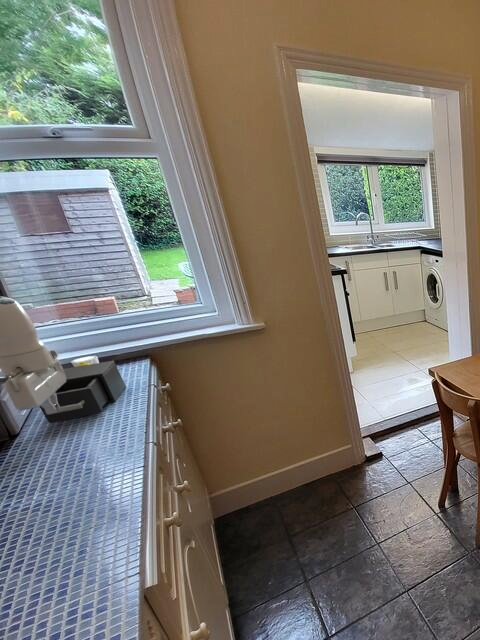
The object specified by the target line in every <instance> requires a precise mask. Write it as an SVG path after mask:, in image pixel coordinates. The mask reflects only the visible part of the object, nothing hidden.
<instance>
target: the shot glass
mask: <svg viewBox="0 0 480 640" xmlns="http://www.w3.org/2000/svg"><path fill="white" fill-rule="evenodd" d="M81 362H84V363H89V364H96V363H100V360H99V358H98V356H97V355H87V356H83V357H82V356H81V357H79V358H75V359H73V360H71V361H70V363H71V364H72V367H77V365H79V364H80V363H81Z"/></svg>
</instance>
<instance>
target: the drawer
mask: <svg viewBox="0 0 480 640" xmlns="http://www.w3.org/2000/svg"><path fill="white" fill-rule="evenodd" d="M86 387H87V388H86ZM80 388H82V389H80ZM75 389H76V390H75ZM69 390H71V391H69ZM55 393H56V395H57V401H58V404H59V406H60V408H59V409H58V410H57V411H56V412H55V413H51V414H47V413H46V411H45V409H44V408H42V407H41V406H39V407H38V408H39V409H40V410H41V411H42V414H43V416H44V417H45V419H46V421H47V422H48V424H53V423H58V422H61V421H66V420H71V419H72V420H73V419H76V418H81V417H86V416H92V415H96V414H100V413H101V414H102V413H104V409H103V407H104V406H105V405H106V404H107V403H106V402H107V401H108V399H109V398H110V396H109V394H108V392H107V390H106V388H105V386H104V384H103V382H102V380H101V378H100V376H99V377H93V378H88V379H82V380H76V381H70V382H65V383H64V384H63V385H62V386H61V387H60V388H59V389H58V390H57V391H55ZM105 403H106V404H105Z"/></svg>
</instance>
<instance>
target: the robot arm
mask: <svg viewBox="0 0 480 640" xmlns="http://www.w3.org/2000/svg"><path fill="white" fill-rule="evenodd" d="M37 332H38V331H37V328H36V326H35V323H34V322H33V320H32V319H31V317H30V316H29V314H28V312H27V311H26V310H25V308H24V307H23V306H22V305H21V304H20V303H19V302H18V301H17V300H16V299H14V298H12V297H8V296H2V295H0V371H1V373H2V375H5V376H7V377H8V379H7V380H5V383H4V386H5V389H6V392H7V395H8V396H9V398H10V400H11V402H12V403H13V406H14V407H15V408H16V409H17V410H19V411H27V410H33V409H37V408H40V407H39V406H41V407H42V408H44V409H45V411H46V413H47V414H51V413H55V412H56V411H57V410H58V409H59V408H60V406H59V404H58V401H57V395H56V393H55V391H57V390H58V389H59V388H60V387H61V386H62V385H63V384H64V383H65V382H66V375H65V373H64V370H63V369H64V368H63V366H62V364H61V361H60V360H59V359H58V358H59V354H58V352H57V350H56V349H51V348H50V349H49V348H47V346H46V344H45V343H44V342H43V341H41V339H40V337H39V336H38V333H37Z"/></svg>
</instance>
